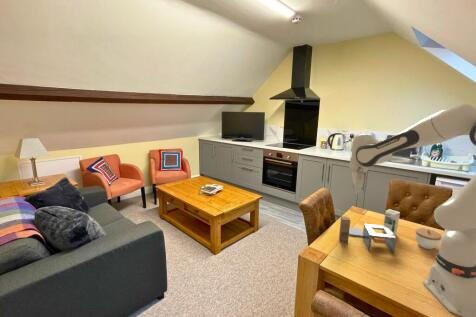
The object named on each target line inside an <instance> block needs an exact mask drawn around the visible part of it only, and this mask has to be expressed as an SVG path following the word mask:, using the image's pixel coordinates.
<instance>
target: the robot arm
mask: <svg viewBox="0 0 476 317" xmlns="http://www.w3.org/2000/svg"><path fill="white" fill-rule="evenodd" d="M466 135H468V137H469V140H470V142H471V144H473V145H474V146H475V147H476V107H475V106H472V105H471V104H467V103H465V104H458V105H454V106H450V107H449V108H445V109H443V110H440V111H438V112H436V113H433V114H431V115H429V116H427V117H425V118H424V119H422V120H420V121H418V122H417V123H414V125H411V126H410V127H408V128H405V130H403V131H401V132H399V133H397V134H395V135H393V136H390V137H388V138H386V139H384V140H382V141H380V140H378V139H377V138H375V137H374V136H373V135H372V134H370V133H364V134H361V133H360V134H357V135H355V136H354V138H353V141H352V143H351V155H350V160H349V166H348V167H349V169H351V176H352V177H351V178H352V182H353V184H352V187H353V188H354V194H355V195H359V194H360V190H361V189H364V182H365V173H366V171H368V170H369V168H370V167H372V166H375V165H380V164H383V163H386V162H388V161H390V160H391V159H392V157H393V154H394V153H396V152H399V151H401V150H407V149H411V148H418V147H419V148H420V147H421V148H422V147H426V146H433V145H436V144H441V143H444V142H446V141H449V140H453V139H454V138H457V137H460V136H466ZM433 217H434V220H435V222H436V223H437V225H438V226H439V227H440V228H442V229H444V230H445V232H444V233H443V235H441V240H440V244H439V245H440V246H439V250H437V253H436V255H435V262H434V263H433V264H432V265H431V267H430V268H429V272H428V274H427V278H426V279H424V280H423V281H422V284H423V285H424V286H425V287H426V288H427V289H428V291H429V292H430V293H432V295H433V296H434V297H435V298H436V299H437V300H438V301H439V303H441V305H442V306H444V307H445V308H446V309H447V311H449V312H450V313H453V314H454V315H456V316H459V317H476V173H475V174H474V175H473V176H472V177H471V178H470V180H469V181H468V182H467V183H466V184H465V185H463V187H461V188H460V189H459V190H458V191H456V192H455V193H453V194H452V196H451V197H449V198H448V199H447V200H446V201H445V202H443V203H442V204H440V205H439V206H437V207H436V208H435V209H434V211H433Z"/></svg>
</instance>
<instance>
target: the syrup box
mask: <svg viewBox="0 0 476 317" xmlns="http://www.w3.org/2000/svg"><path fill="white" fill-rule="evenodd" d="M400 215H401V212H400V211H396V210H392V209H390V208H389V209H387V210H385V212H384V217H383V219H384V220H383V225H382V226H388V227H389V228H390V229H391V231H392V232H393V234H394V235H395V236H397V234H398V227H399V220H400ZM381 233H382V234H385V231H384V230H382V232H381Z"/></svg>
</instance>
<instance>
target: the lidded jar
mask: <svg viewBox="0 0 476 317" xmlns="http://www.w3.org/2000/svg"><path fill="white" fill-rule="evenodd" d="M414 238H415V241H416V242H417V244H418V245H419V247H421V248H422V249H427V250H433V249H435V248H437V247H438V246H439V245H440V244H441V240H442V235H441V234H440V233H439V232H437V231H436V230H433V229H430V228H425V227H417V228H416V229H415V236H414Z"/></svg>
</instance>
